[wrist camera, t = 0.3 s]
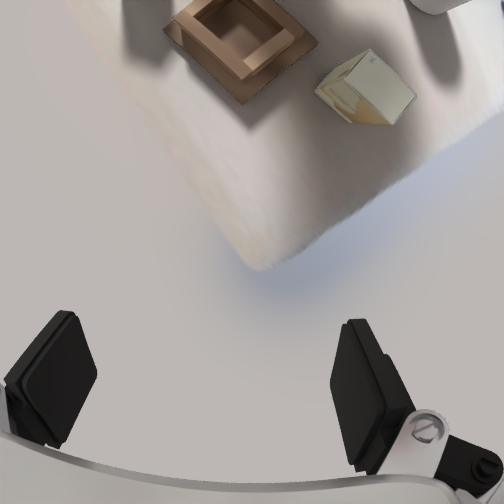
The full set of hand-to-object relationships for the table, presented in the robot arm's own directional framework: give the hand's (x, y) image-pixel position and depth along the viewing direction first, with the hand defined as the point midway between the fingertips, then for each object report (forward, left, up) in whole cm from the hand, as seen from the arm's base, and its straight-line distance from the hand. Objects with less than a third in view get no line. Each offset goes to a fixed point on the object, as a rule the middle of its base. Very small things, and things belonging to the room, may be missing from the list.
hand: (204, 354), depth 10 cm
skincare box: (-17, 0, -30) cm, 35 cm away
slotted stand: (-13, -14, -30) cm, 36 cm away
